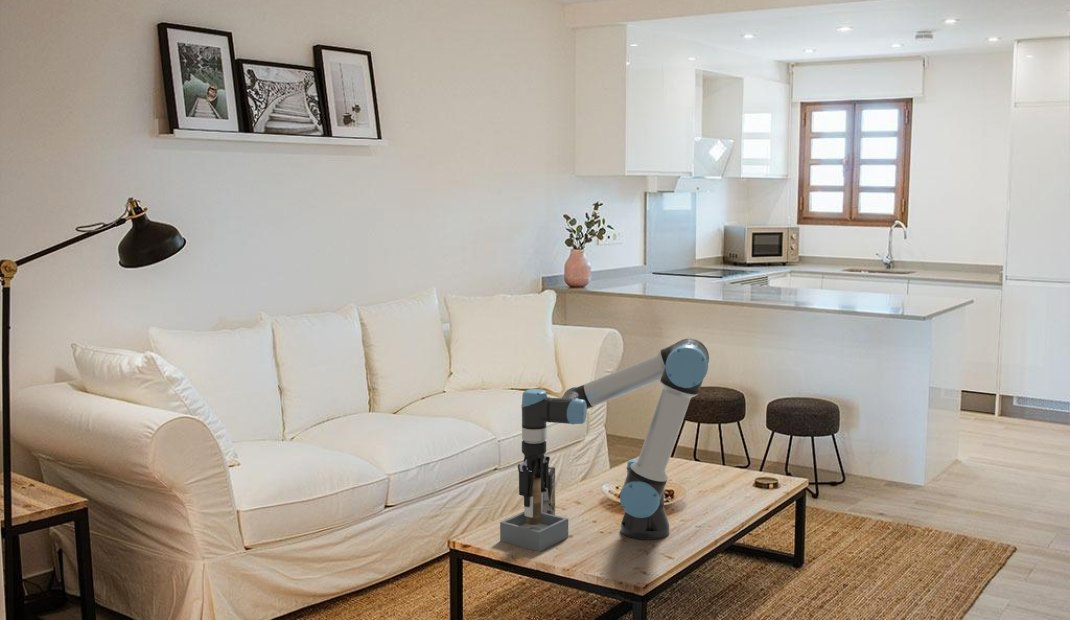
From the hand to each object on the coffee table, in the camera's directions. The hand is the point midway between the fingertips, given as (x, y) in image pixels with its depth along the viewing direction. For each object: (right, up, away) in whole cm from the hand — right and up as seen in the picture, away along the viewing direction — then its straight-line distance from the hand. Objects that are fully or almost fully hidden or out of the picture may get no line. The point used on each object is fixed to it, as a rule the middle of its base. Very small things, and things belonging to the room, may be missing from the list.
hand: (533, 514), depth 310 cm
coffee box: (+3, -6, +20) cm, 21 cm away
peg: (0, -3, 0) cm, 3 cm away
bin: (0, -8, +1) cm, 8 cm away
